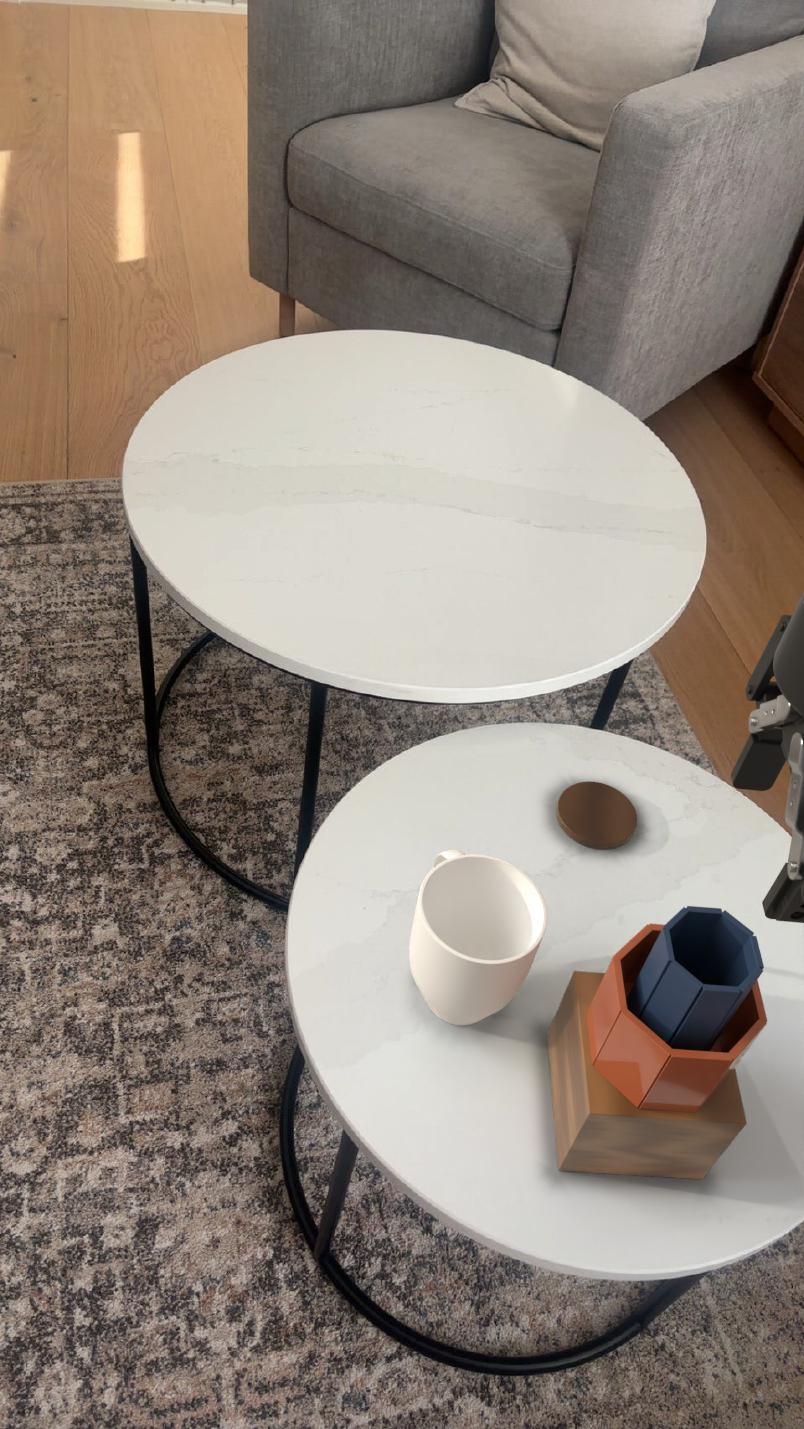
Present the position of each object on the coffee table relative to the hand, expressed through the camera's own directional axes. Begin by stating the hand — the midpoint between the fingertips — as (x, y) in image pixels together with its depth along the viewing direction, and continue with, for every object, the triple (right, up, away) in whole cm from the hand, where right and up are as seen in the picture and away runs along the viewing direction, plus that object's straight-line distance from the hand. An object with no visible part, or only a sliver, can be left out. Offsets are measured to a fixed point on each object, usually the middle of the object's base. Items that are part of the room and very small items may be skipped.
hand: (764, 846), depth 57 cm
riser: (-3, -21, +20) cm, 29 cm away
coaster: (-2, -2, +38) cm, 38 cm away
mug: (-15, -13, +25) cm, 33 cm away
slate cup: (-2, -14, +13) cm, 19 cm away
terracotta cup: (-2, -14, +13) cm, 20 cm away
